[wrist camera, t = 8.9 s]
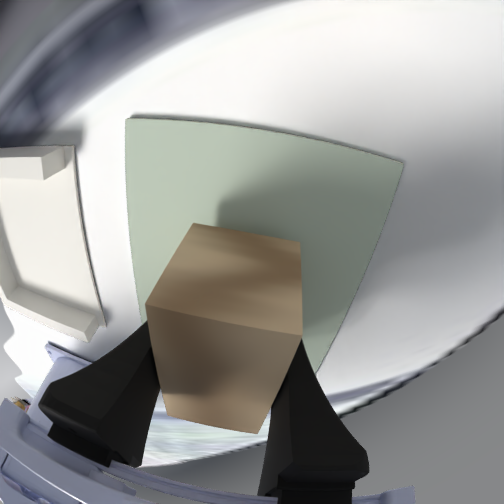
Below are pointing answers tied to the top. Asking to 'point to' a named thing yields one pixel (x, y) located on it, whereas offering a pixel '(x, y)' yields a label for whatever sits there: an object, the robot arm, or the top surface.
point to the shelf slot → (45, 242)
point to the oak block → (226, 325)
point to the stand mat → (259, 205)
